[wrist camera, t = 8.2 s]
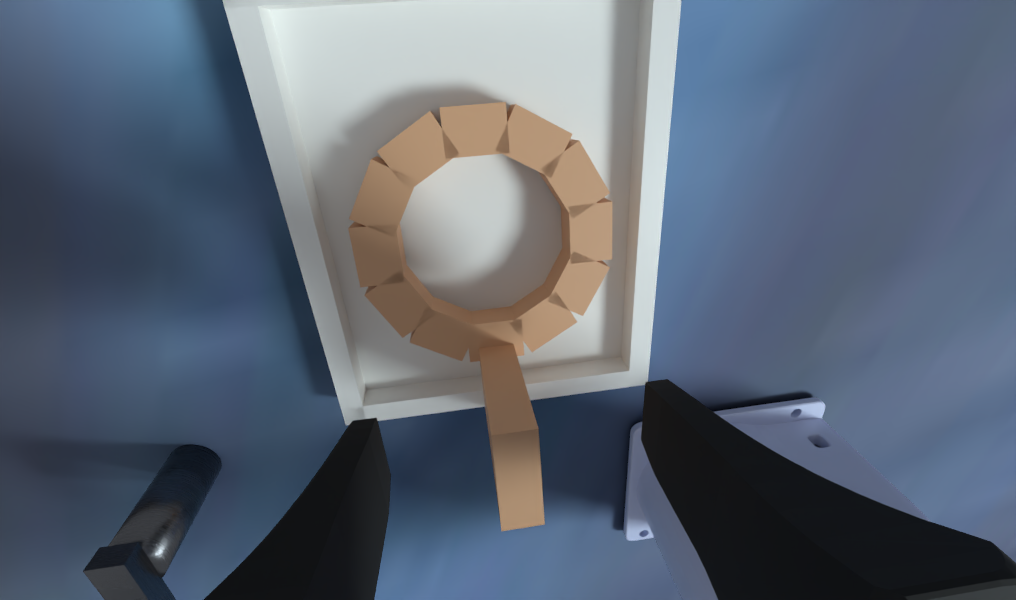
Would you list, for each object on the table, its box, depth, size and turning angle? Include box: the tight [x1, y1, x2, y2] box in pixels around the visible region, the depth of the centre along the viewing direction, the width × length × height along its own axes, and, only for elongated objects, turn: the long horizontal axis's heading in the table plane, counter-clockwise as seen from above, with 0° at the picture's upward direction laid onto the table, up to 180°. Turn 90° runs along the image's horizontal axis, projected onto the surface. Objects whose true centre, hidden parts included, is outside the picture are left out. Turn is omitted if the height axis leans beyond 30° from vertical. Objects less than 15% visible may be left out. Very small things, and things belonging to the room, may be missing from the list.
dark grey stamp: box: [83, 445, 221, 600], centre depth 18 cm, size 2×3×5 cm, turn 4°
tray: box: [222, 0, 681, 425], centre depth 16 cm, size 12×14×2 cm
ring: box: [348, 102, 612, 531], centre depth 14 cm, size 11×8×6 cm
